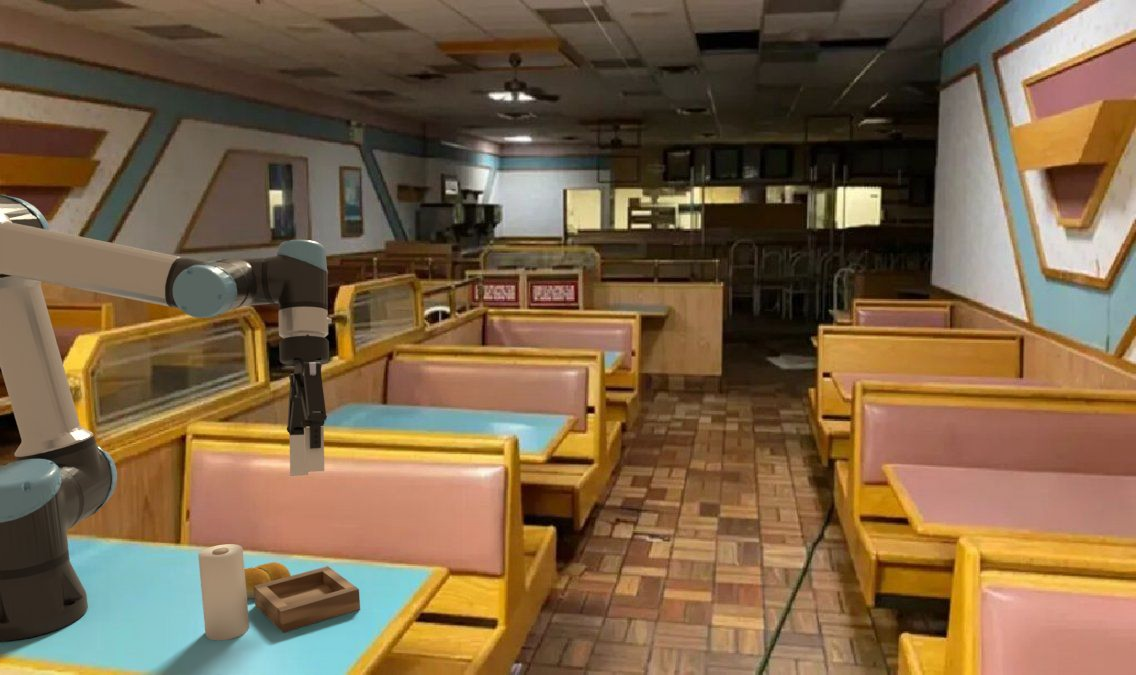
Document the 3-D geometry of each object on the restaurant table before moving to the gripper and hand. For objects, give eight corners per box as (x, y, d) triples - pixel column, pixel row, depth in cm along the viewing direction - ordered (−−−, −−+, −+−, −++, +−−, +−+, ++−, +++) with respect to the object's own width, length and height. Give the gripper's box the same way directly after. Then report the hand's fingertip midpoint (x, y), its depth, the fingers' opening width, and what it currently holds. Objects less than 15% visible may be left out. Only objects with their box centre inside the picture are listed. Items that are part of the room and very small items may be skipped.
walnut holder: (255, 605, 143) (253, 585, 143) (329, 584, 150) (327, 566, 150) (282, 632, 134) (280, 611, 133) (360, 609, 141) (358, 589, 140)
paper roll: (200, 629, 136) (193, 549, 134) (241, 617, 139) (235, 539, 137) (212, 644, 131) (204, 561, 129) (255, 631, 134) (248, 551, 133)
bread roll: (300, 586, 151) (298, 562, 150) (249, 604, 144) (247, 580, 144) (274, 573, 156) (272, 550, 156) (224, 590, 150) (222, 567, 150)
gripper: (344, 323, 137) (348, 468, 134) (314, 351, 159) (316, 475, 156) (292, 322, 134) (294, 470, 130) (268, 350, 156) (269, 478, 152)
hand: (306, 474), depth 143 cm, fingers open, 13 cm apart
